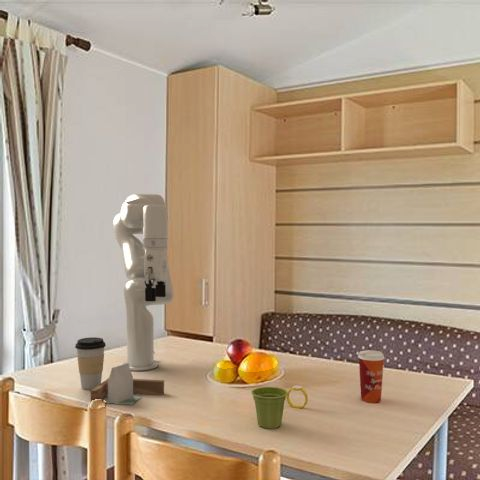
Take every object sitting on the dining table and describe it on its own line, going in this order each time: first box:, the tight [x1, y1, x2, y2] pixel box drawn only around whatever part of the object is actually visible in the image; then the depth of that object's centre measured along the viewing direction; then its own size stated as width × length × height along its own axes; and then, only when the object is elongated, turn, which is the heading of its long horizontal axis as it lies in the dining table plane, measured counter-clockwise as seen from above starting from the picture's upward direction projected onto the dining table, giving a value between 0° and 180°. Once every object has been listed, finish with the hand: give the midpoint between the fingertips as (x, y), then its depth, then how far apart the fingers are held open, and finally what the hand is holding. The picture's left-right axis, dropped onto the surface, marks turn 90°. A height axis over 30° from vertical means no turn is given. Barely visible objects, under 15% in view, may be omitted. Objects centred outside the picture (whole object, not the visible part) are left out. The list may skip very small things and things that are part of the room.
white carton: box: [107, 363, 134, 403], centre depth 166 cm, size 4×7×10 cm, turn 150°
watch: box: [285, 384, 309, 410], centre depth 159 cm, size 6×3×6 cm, turn 66°
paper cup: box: [357, 349, 385, 404], centre depth 165 cm, size 8×8×14 cm
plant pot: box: [251, 386, 288, 430], centre depth 146 cm, size 9×9×9 cm
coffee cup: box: [74, 336, 106, 391], centre depth 179 cm, size 9×9×15 cm
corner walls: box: [90, 377, 165, 406], centre depth 167 cm, size 14×18×4 cm
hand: (155, 298), depth 176 cm, fingers open, 9 cm apart
